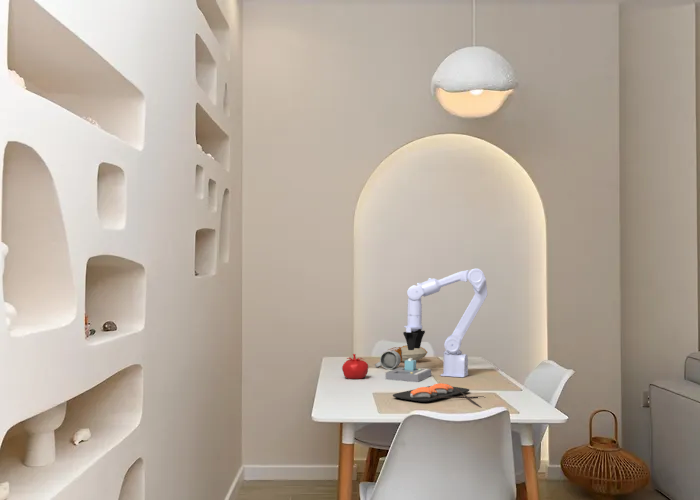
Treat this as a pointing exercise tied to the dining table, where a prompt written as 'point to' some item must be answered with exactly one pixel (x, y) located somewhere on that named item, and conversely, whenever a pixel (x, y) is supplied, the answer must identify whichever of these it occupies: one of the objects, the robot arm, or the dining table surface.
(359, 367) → the red round piece
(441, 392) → the sushi plate
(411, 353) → the nautilus
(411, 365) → the plug
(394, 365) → the ceramic mug
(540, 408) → the dining table surface
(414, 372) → the panel
